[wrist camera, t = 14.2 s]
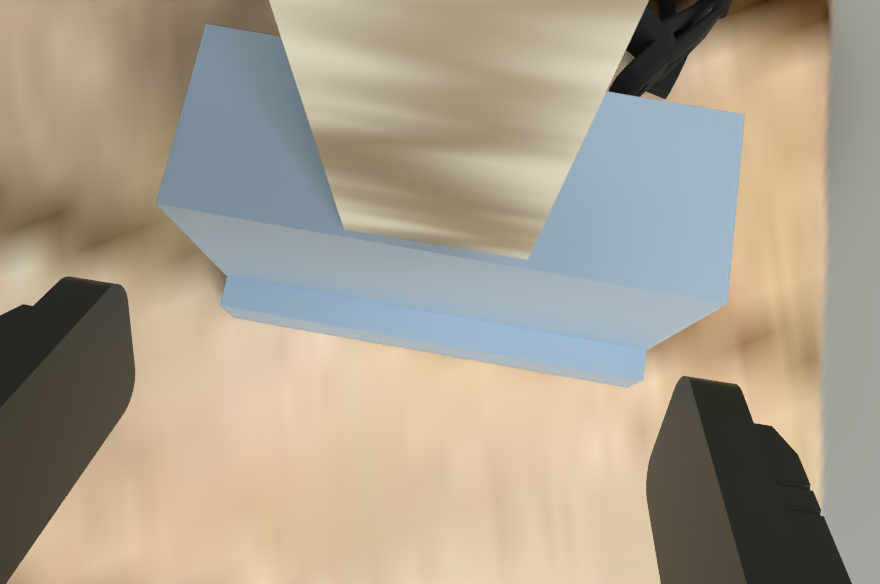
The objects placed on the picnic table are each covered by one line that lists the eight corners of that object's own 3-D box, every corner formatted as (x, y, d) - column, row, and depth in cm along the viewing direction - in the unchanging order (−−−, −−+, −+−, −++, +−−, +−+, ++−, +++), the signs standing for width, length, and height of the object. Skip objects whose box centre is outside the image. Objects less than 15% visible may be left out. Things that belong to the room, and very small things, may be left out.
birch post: (343, 229, 19) (237, -94, 8) (377, 63, 20) (322, -415, 9) (527, 259, 19) (661, -28, 8) (551, 91, 20) (698, -359, 9)
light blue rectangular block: (234, 317, 28) (144, 242, 19) (278, 136, 29) (215, -10, 20) (627, 387, 27) (723, 344, 18) (649, 200, 29) (747, 79, 20)
